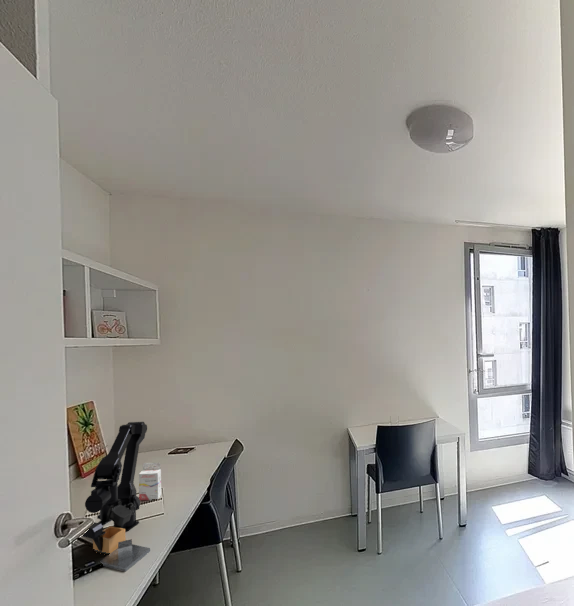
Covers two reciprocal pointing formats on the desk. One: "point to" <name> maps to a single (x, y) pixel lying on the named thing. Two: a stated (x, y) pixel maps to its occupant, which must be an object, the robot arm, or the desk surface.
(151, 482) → the ink cartridge box
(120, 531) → the tan open-top box
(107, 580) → the desk surface
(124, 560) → the grey plate with tab
